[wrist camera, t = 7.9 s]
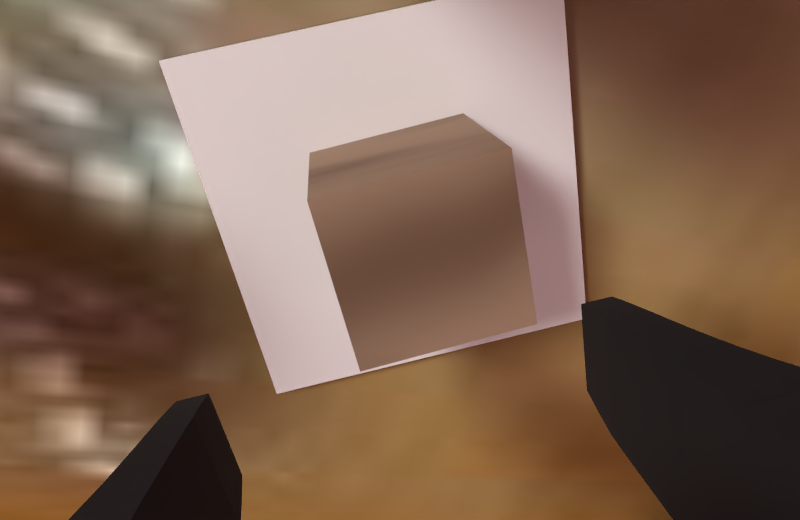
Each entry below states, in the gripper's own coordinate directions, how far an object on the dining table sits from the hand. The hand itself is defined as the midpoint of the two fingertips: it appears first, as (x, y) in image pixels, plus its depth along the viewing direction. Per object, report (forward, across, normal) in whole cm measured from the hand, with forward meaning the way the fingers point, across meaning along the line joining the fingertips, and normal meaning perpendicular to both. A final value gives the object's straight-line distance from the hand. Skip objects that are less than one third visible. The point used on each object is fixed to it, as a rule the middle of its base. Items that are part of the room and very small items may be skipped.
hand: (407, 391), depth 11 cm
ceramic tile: (+10, -1, 0) cm, 10 cm away
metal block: (+9, -1, 0) cm, 9 cm away
